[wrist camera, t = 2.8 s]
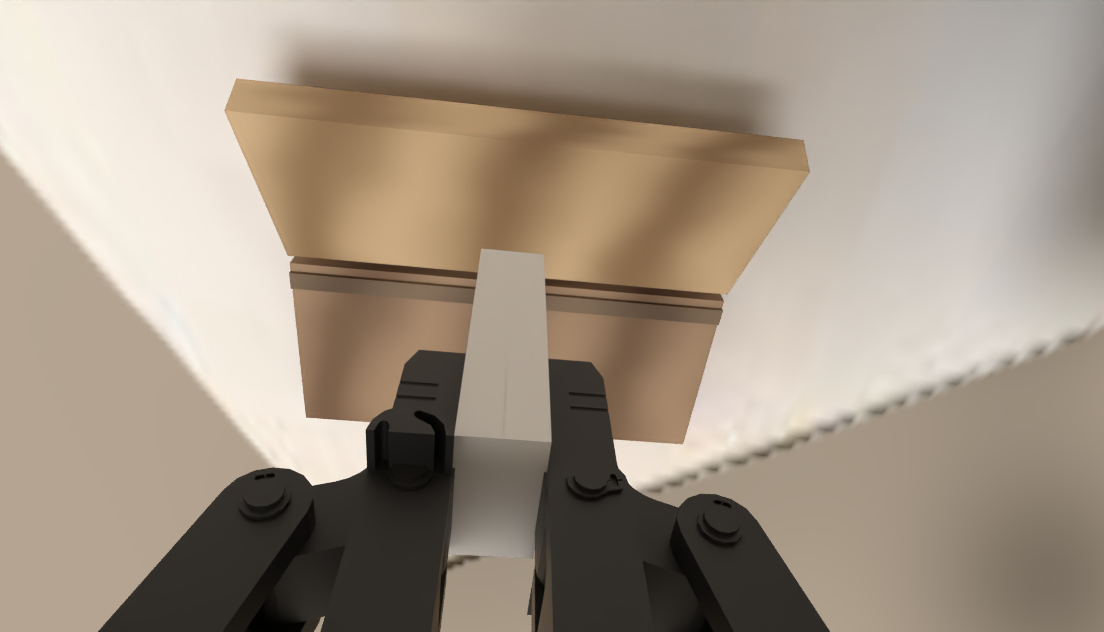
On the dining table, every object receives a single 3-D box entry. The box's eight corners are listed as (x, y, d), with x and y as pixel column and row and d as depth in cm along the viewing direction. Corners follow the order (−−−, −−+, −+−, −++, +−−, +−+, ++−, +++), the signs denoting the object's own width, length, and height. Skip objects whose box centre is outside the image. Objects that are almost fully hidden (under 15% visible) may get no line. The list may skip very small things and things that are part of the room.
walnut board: (716, 286, 32) (724, 303, 31) (677, 425, 37) (683, 446, 36) (299, 248, 31) (288, 265, 29) (314, 399, 36) (304, 419, 34)
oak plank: (803, 140, 24) (809, 171, 23) (724, 267, 31) (727, 294, 31) (236, 78, 22) (224, 110, 22) (295, 227, 30) (287, 255, 29)
